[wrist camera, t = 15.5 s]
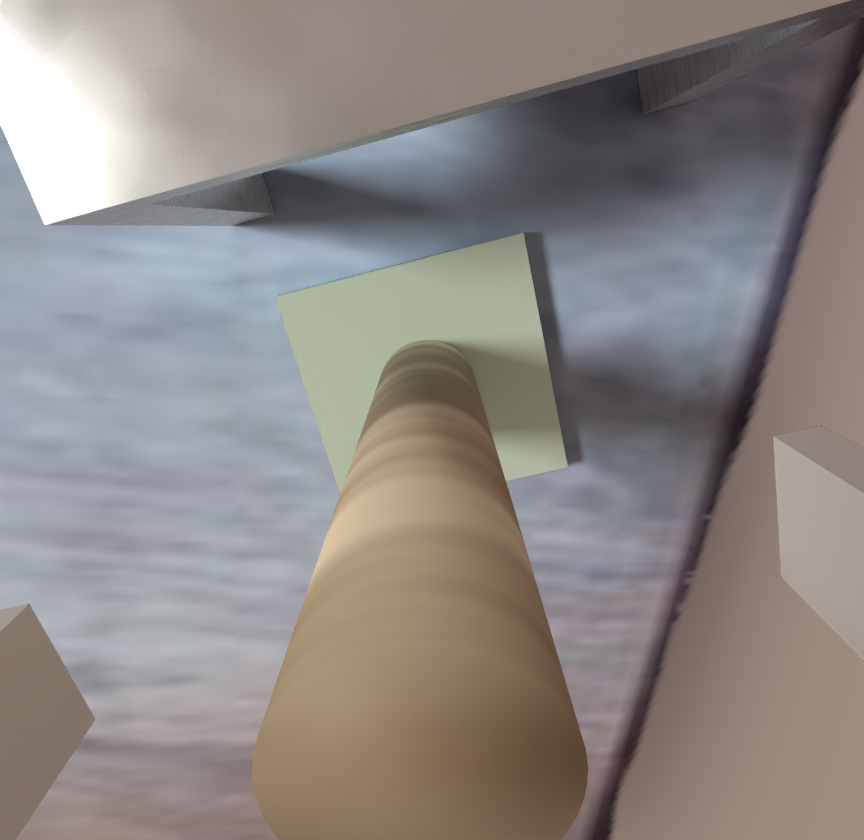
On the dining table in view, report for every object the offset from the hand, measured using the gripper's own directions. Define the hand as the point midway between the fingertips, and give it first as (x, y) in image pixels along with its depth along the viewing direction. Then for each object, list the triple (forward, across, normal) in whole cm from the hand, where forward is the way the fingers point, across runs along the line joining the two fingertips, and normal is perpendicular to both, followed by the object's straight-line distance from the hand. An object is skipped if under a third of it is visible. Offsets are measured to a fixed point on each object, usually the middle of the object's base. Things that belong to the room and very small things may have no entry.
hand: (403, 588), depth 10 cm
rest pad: (+15, 0, -1) cm, 15 cm away
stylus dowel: (+14, 0, -1) cm, 15 cm away
